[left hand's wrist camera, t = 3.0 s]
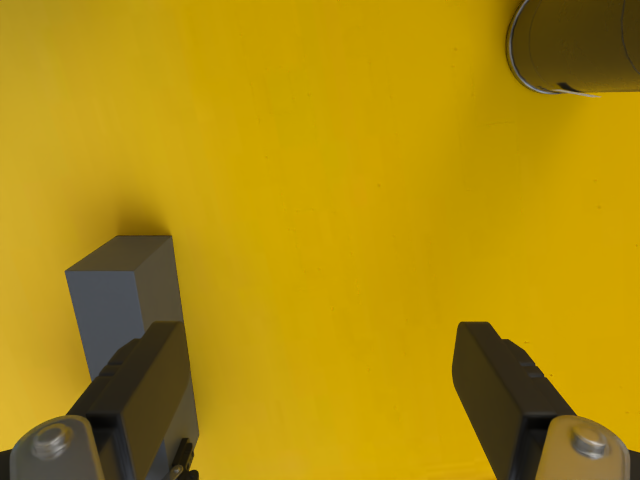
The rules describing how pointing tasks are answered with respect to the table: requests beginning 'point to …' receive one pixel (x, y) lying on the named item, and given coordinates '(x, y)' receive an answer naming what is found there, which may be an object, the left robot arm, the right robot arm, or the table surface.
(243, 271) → the table surface
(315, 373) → the table surface
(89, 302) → the long box
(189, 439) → the right robot arm
